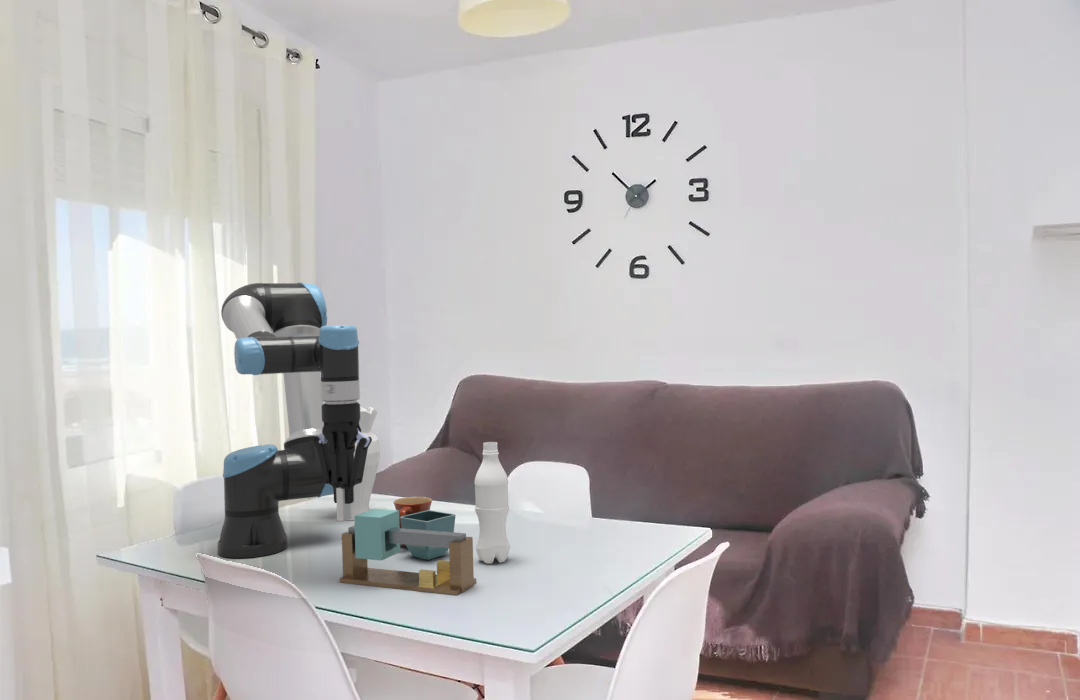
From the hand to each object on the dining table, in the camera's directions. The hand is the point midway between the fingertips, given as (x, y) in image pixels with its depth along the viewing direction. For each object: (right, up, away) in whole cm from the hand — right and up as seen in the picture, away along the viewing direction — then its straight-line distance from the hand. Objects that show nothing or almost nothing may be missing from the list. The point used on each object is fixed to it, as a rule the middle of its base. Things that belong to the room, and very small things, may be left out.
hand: (344, 519), depth 165 cm
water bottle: (+29, -11, +9) cm, 33 cm away
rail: (+13, -11, -5) cm, 18 cm away
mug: (+10, -11, +22) cm, 27 cm away
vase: (-10, -11, +54) cm, 56 cm away
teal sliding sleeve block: (+7, -3, -3) cm, 8 cm away
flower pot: (+15, -11, +14) cm, 23 cm away
